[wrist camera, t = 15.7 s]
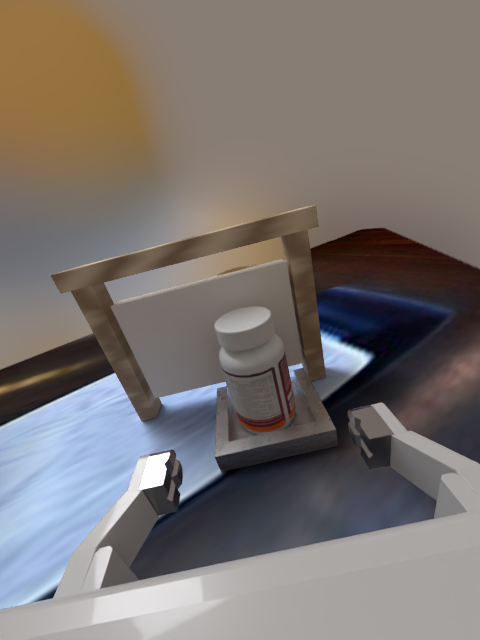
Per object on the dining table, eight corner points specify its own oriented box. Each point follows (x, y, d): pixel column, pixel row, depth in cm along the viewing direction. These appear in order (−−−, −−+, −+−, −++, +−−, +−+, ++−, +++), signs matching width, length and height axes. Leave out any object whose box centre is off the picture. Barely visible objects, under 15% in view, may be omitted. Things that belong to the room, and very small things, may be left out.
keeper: (221, 472, 22) (215, 457, 21) (221, 401, 30) (217, 388, 29) (337, 445, 21) (336, 429, 20) (305, 381, 29) (303, 367, 29)
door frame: (133, 423, 30) (50, 275, 23) (139, 408, 32) (65, 270, 25) (334, 375, 29) (316, 205, 22) (326, 364, 31) (307, 206, 24)
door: (155, 398, 29) (110, 306, 24) (161, 381, 32) (122, 297, 27) (303, 362, 29) (286, 261, 24) (295, 349, 32) (279, 256, 27)
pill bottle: (268, 385, 30) (248, 299, 25) (309, 410, 25) (292, 309, 20) (227, 415, 27) (196, 324, 22) (264, 450, 22) (233, 343, 18)
